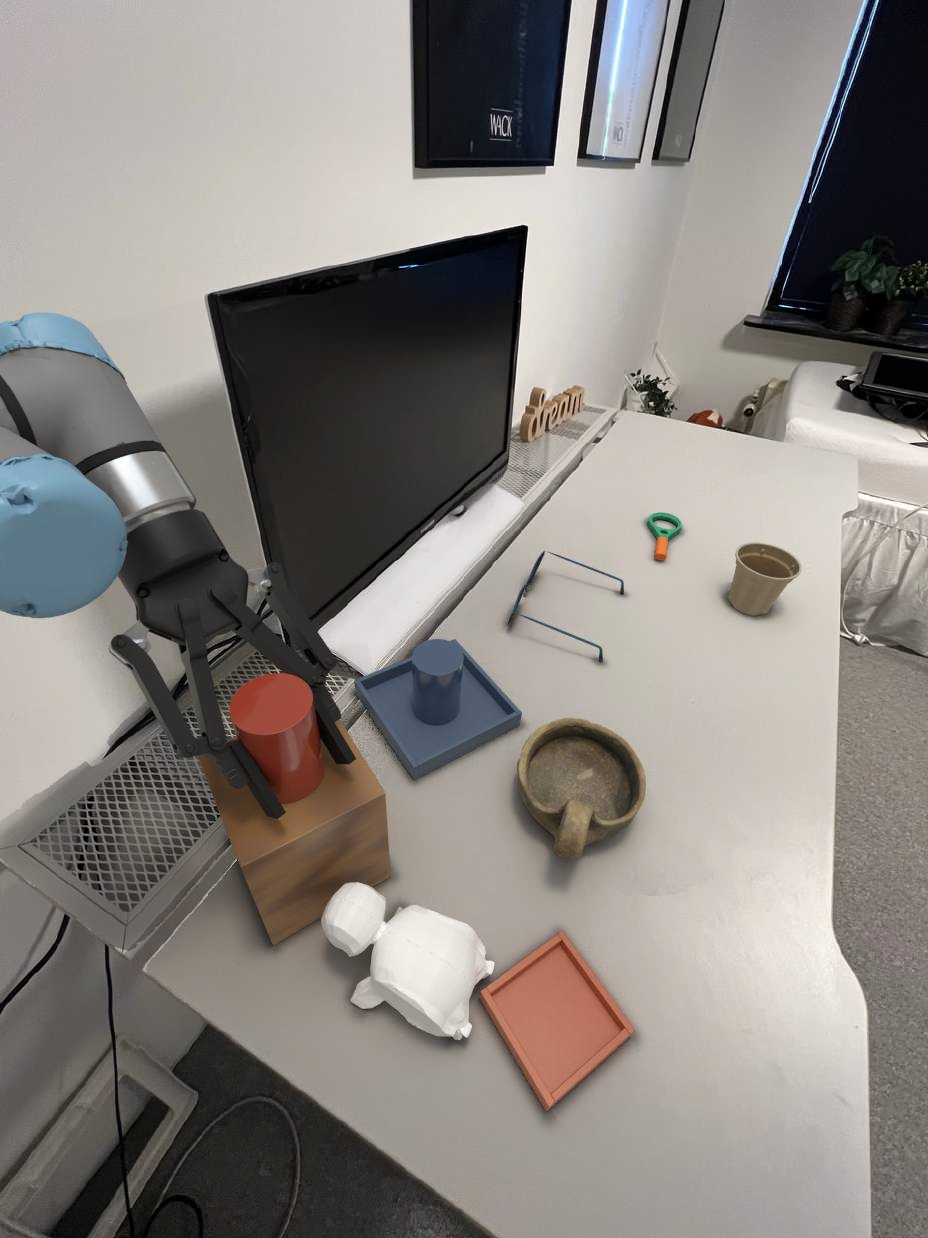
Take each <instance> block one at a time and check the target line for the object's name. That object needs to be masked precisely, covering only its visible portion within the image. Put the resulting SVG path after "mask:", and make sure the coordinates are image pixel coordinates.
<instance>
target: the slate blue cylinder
mask: <svg viewBox="0 0 928 1238" xmlns="http://www.w3.org/2000/svg"><path fill="white" fill-rule="evenodd" d="M451 641H452V640H448V639H443V638H431V639H427V640H424V641H423V642H420V643H419V644H418V645H417V646H416V647H414V649H413V651H412V654H411V657H412V707H413V712H414V714H415V715H416V717H417V718H418V719H419V720H421V721H422V722H424V723H427V724H430V725H443V724H446V723H449V722H451V721H452V720H454V719H455V718H456V716H457V715H458V713H459V711H460V701H461V687H462V674H463V660H464V656H463V652H462V651H461V649H460V648H459V647H458V646H457V645H456V644H455V643H453V642H451Z"/></svg>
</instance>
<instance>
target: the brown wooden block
mask: <svg viewBox="0 0 928 1238" xmlns="http://www.w3.org/2000/svg"><path fill="white" fill-rule="evenodd" d="M335 724H336V726H337V727H338V729H339V731H340V732H341V734H342V736H343V737H344V739H345V741H346V742H347V744H348V746H349V747H350V749H351V751H352V752H353V754H354V755H355V757H356V760H354V761H353V762H352V763H350V764H336V763H335V761H334V759H333V758H332V756H331V754H330V753H329V751H328V750H327V748H326V746H325V745H324V743H323V741H322V740H321V745H322V751H323V756H324V762H325V773H324V776H323V779H322V781H321V783H320V784H319V786H318V787H317V788H316V789H315V790H314V791H313V792H312V793H311V794H309V795H308V796H306V797H305V798H303V799H301V800H298V801H295V802H291V803H284V804H281V805H282V807H283V808H284V810H285V811H286V813H285V814H284V815H282V816H281V817H280V818H278V819H275V818H272V817H268V816H267V815H266V814H265V812H264V811H263V809H262V807H261V806H260V804H259V803H258V801H257V800H256V798H255V796H254V795H253V793H252V792H251V790H250V789H249V787H248V785H247V784H246V785H245V786H243V787H242V788H240V789H237V788H234V787H232V786H231V785H229V783H228V782H227V780H226V779H225V777H224V776H223V774H222V772H221V771H220V769H219V768H218V766H217V765H216V763H215V762H214V760H213V758H212V757H211V756H210V755H208V754H202V755H198V756H196V757H197V759H198V762H199V765H200V767H201V770H202V772H203V775H204V777H205V780H206V782H207V785H208V788H209V790H210V793H211V796H212V798H213V801H214V802H215V805H216V808H217V811H218V813H219V816H220V818H221V822H222V823H223V826H224V829H225V831H226V834H227V836H228V839H229V842H230V844H231V847H232V849H233V852H234V855H235V857H236V860H237V862H238V865H239V867H240V870H241V873H242V875H243V877H244V880H245V882H246V884H247V886H248V889H249V891H250V894H251V897H252V898H253V901H254V903H255V906H256V908H257V910H258V913H259V915H260V916H259V917H261V920H262V922H263V925H264V927H265V930H266V932H267V934H268V937H269V939H270V942H271V945H272V946H275V945H277V944H279V943H280V942H282V941H284V940H285V939H287V938H289V937H291V936H293V935H295V933H297V932H300V931H301V930H302V929H304V928H306V927H307V926H309V925H311V924H313V923H314V922H316V921H318V920H319V919H322V916H323V913H324V910H325V907H326V905H327V904H328V902H329V900H330V899H331V898H332V896H333V895H334V894H335V893H336V892H337V891H338V890H339V889H340V888H341V887H342V886H343V885H344V884H346V883H355V882H359V883H362V884H366V885H368V886H370V887H372V888H374V887H375V886H377V885H379V884H380V883H382V882H384V881H385V880H388V879H389V878H390V877H391V876H392V873H391V860H390V859H391V858H390V845H389V844H390V843H389V842H390V841H389V828H388V827H389V826H388V812H387V811H388V810H387V799H386V798H387V796H386V791H385V790H384V788H383V786H382V785H381V783H380V782H379V780H378V779H377V777H376V775H375V774H374V772H373V771H372V769H371V767H370V765H369V764H368V763H367V761H366V759H365V757H364V756H363V754H362V752H361V751H360V750H359V748H358V747H357V745H356V743H355V742H354V740H353V739H352V737H351V734H350V733H349V732H348V730H347V729H346V727H345V726H344V724H343V722H342V721H341V718H340V719H339V720H337V721H336V722H335ZM320 739H321V738H320ZM231 740H238V739H237V736H236V735H235V736H233V737H230V738H227V742H229V741H231Z"/></svg>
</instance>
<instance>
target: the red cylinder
mask: <svg viewBox="0 0 928 1238" xmlns="http://www.w3.org/2000/svg"><path fill="white" fill-rule="evenodd" d="M228 714H229V717H230V721H231V724H232V727H233V730H234V733H235V736H237V739H240V740H241V742H242V743H243V745H244V746H245V748H246V749H247V751H248V753H249V754H250V756H251V757H252V759H253V761H254V762H255V764H256V765H257V767H258V768H259V770H260V772H261V773H262V775H263V776H264V778H265V780H266V781H267V783H268V784H269V786H270V788H271V789H272V791H273V792H274V794H275V795H276V797H277V799H278V800H279V802H280V803H281V804H284V803H291V802H295V801H298V800H301V799H303V798H305V797H306V796H308V795H309V794H311V793H312V792H313V791H314V790H315V789H316V788H317V787H318V786H319V784H320V783H321V781H322V779H323V776H324V773H325V762H324V756H323V751H322V745H321V739H320V733H319V728H318V722H317V716H316V711H315V705H314V699H313V694H312V691H311V689H310V687H309V685H308V684H307V683H306V682H305V681H304V680H302V679H301V678H299V677H297V676H294V675H291V674H286V673H283V672H273V673H267V674H262V675H260V676H259V675H258V676H257V677H255V678H252V679H250V680H249V681H247V682H246V683H244V684H243V685H242V686H240V688H238V689H237V690H236V691H235V693H234V694H233V696H232V698H231V700H230V702H229V706H228Z"/></svg>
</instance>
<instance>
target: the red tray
mask: <svg viewBox="0 0 928 1238" xmlns="http://www.w3.org/2000/svg"><path fill="white" fill-rule="evenodd" d="M478 998H479V1000H480V1002H481V1003H482V1005H483V1008H484V1009H485V1010H486V1012H487V1014H488V1015H489V1017H490V1019H491V1020H492V1023H493V1024H494V1025H495V1027H496V1030H497V1031H498V1032H499V1034H500V1036H501V1037H502V1039H503V1041H504V1043H505V1044H506V1046H507V1048H508V1050H509V1051H510V1053H511V1054H512V1056H513V1058H514V1059H515V1061H516V1063H517V1065H518V1067H519V1068H520V1070H521V1072H522V1074H523V1075H524V1077H525V1078H526V1080H527V1082H528V1083H529V1085H530V1087H531V1088H532V1091H533V1092H534V1093H535V1096H536V1097H537V1099H538V1101H539V1103H540V1104H541V1106H542V1107H543V1109H544V1111H545V1113H547V1112H548V1111H549V1110H550V1109H552V1107H554V1106H555V1105H556V1104H557V1103H558V1102H559V1101H561V1100H562V1099H563V1098H564V1097H565V1096H566V1095H567V1094H568V1093H570V1092H571V1090H573V1089H574V1088H575V1087H576V1086H577V1085H578V1084H579V1083H580V1082H582V1081H583V1079H586V1077H587V1076H588V1075H590V1073H591V1072H592V1071H593V1070H594V1069H596V1068H597V1067H598V1066H599V1065H600V1064H602V1063H603V1061H604V1060H605V1059H607V1058H608V1057H609V1056H610V1055H611V1054H613V1053H614V1052H615V1051H616V1050H617V1049H618V1048H619V1047H620V1046H621V1045H622V1044H623V1043H625V1042H626V1041H627V1040H628V1039H629V1038H631V1036H632V1035H633V1034H634V1033H635V1031H636V1029H635V1027H634V1026H633V1025H632V1023H631V1022H630V1021H629V1019H628V1017H627V1016H626V1015H625V1013H623V1011H622V1009H621V1008H620V1006H619V1005H618V1004H617V1003H616V1001H615V1000H614V999H613V997H612V996H611V995H610V993H609V992H608V990H607V989H606V987H604V985H603V984H602V982H601V980H599V978H598V977H597V974H595V973H594V971H593V969H592V968H591V967H590V966H589V964H588V963H587V961H586V960H585V959H584V958H583V956H582V955H581V953H580V952H579V951H578V949H577V948H576V947H575V945H574V944H573V942H572V941H571V940H570V938H569V937H568V936H567V934H566V933H565V931H564V930H561V931H560V932H558V933H557V934H555V935H554V936H553V937H552V938H550V939H549V940H547V941H546V942H545V943H543V944H542V945H541V946H539V947H538V948H536V950H534V951H532V953H530V954H529V955H527V956H526V957H524V958H523V959H522V960H520V961H519V962H518V963H516V964H515V965H513V967H511V968H510V969H508V970H507V971H505V972H504V973H503V974H502V975H500V976H498V978H497V979H495V980H494V981H492V982H491V983H490V984H488V985H486V987H484V988H482V989H481V990H480V993H479V996H478Z"/></svg>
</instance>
